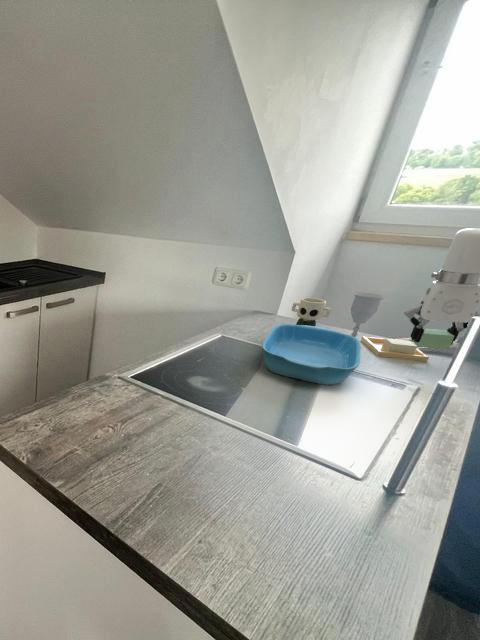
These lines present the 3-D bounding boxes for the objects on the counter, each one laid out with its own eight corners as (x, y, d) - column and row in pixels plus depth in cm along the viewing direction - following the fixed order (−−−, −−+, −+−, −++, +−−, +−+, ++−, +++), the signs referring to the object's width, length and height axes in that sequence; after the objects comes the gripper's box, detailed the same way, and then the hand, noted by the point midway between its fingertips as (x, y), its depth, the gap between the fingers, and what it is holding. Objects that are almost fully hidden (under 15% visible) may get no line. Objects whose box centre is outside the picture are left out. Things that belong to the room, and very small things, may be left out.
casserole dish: (350, 398, 99) (360, 373, 96) (250, 374, 112) (256, 352, 109) (354, 354, 124) (362, 333, 121) (271, 338, 137) (277, 319, 134)
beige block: (404, 352, 123) (410, 340, 121) (412, 358, 119) (417, 346, 117) (380, 349, 125) (385, 338, 123) (386, 355, 121) (391, 343, 119)
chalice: (357, 345, 130) (378, 293, 123) (367, 353, 124) (389, 298, 117) (331, 343, 132) (349, 291, 125) (340, 350, 126) (359, 297, 119)
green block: (439, 343, 110) (445, 329, 109) (448, 349, 106) (454, 335, 105) (411, 340, 113) (416, 327, 111) (419, 346, 109) (425, 333, 107)
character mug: (282, 333, 142) (292, 299, 136) (287, 329, 146) (297, 295, 141) (318, 341, 134) (330, 305, 129) (323, 336, 138) (335, 301, 133)
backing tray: (404, 346, 129) (407, 340, 128) (426, 363, 116) (429, 357, 116) (360, 341, 133) (362, 336, 132) (376, 357, 121) (379, 351, 120)
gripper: (421, 279, 102) (396, 342, 109) (515, 283, 95) (481, 350, 103) (408, 273, 108) (385, 334, 116) (495, 276, 102) (465, 340, 109)
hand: (431, 341), depth 109 cm, fingers closed on green block, 6 cm apart
